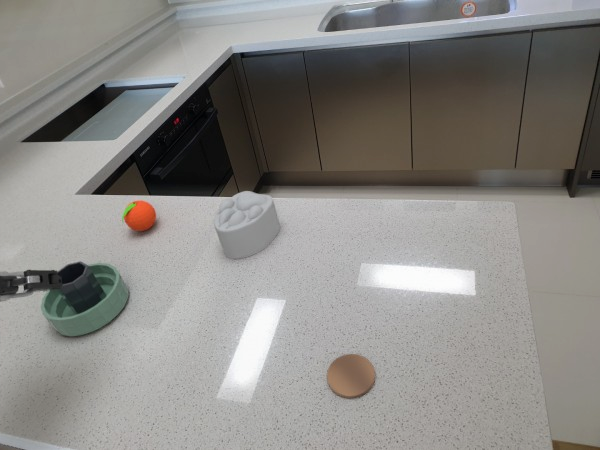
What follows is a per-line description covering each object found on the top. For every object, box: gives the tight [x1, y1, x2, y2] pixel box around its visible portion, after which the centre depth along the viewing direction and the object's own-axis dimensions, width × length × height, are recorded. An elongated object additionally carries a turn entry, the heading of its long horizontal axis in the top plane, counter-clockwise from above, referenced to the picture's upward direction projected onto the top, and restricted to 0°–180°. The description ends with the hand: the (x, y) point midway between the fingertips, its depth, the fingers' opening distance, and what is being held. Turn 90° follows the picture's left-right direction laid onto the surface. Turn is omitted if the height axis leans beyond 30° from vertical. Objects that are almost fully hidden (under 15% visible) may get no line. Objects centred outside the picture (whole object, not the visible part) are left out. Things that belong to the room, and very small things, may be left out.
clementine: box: [121, 200, 157, 232], centre depth 103 cm, size 8×7×7 cm
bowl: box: [40, 262, 129, 337], centre depth 86 cm, size 14×14×5 cm
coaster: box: [326, 353, 376, 399], centre depth 65 cm, size 7×7×1 cm
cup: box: [57, 260, 107, 315], centre depth 84 cm, size 6×6×8 cm
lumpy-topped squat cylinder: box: [213, 190, 281, 260], centre depth 93 cm, size 10×13×9 cm
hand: (32, 287), depth 71 cm, fingers open, 8 cm apart
